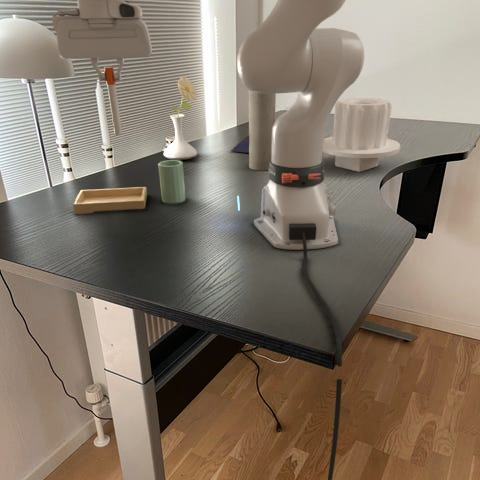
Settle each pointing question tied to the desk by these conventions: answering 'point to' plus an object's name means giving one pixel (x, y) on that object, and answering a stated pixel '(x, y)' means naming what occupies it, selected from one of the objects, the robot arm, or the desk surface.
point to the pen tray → (110, 199)
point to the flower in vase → (180, 146)
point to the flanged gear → (360, 133)
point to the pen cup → (172, 181)
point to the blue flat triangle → (242, 146)
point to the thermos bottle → (260, 129)
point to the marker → (113, 100)
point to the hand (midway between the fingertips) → (110, 80)
